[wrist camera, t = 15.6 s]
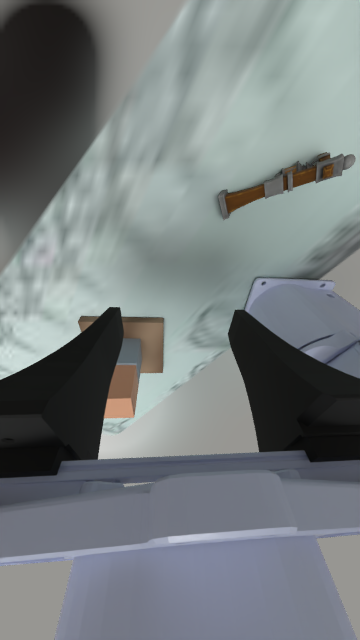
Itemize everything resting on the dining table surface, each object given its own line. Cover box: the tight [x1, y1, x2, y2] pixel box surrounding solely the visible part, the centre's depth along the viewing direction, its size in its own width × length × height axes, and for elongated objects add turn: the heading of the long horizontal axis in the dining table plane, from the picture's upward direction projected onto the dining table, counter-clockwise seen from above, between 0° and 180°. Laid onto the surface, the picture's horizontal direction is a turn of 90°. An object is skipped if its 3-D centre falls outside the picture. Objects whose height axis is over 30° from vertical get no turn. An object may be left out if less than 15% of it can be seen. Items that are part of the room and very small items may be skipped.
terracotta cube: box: [104, 365, 138, 418], centre depth 21 cm, size 4×4×4 cm
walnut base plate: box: [78, 316, 163, 373], centre depth 26 cm, size 10×10×1 cm
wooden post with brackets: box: [218, 152, 355, 220], centre depth 14 cm, size 2×8×5 cm, turn 112°
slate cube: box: [116, 338, 142, 384], centre depth 24 cm, size 4×4×4 cm
